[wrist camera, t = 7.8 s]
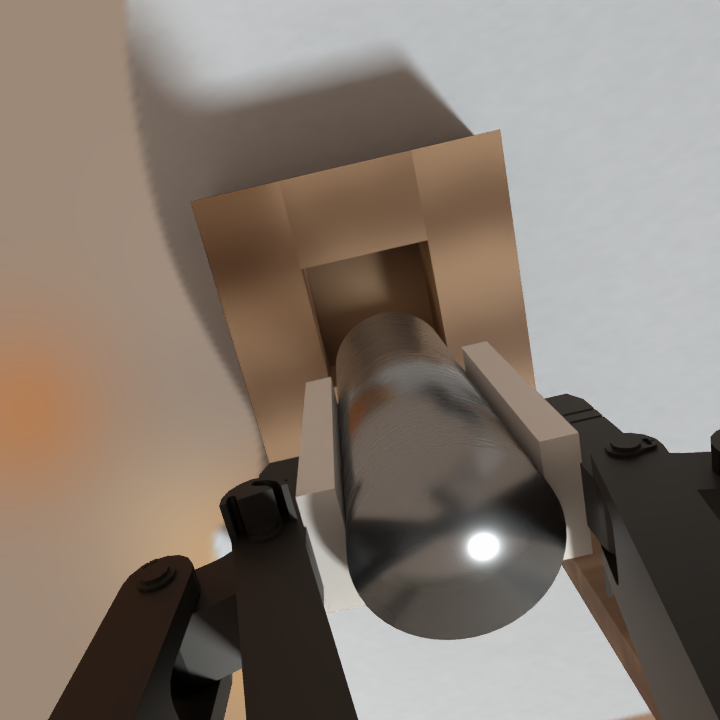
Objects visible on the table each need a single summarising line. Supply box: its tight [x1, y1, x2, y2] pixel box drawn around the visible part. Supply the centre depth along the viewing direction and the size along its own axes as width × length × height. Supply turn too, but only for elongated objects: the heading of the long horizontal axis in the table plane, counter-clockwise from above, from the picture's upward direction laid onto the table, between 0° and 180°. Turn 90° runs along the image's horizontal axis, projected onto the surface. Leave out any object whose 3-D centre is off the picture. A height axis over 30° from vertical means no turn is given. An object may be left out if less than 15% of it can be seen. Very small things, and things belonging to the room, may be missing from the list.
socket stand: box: [191, 129, 662, 720], centre depth 22 cm, size 25×18×26 cm
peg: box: [336, 312, 567, 640], centre depth 16 cm, size 4×4×11 cm
